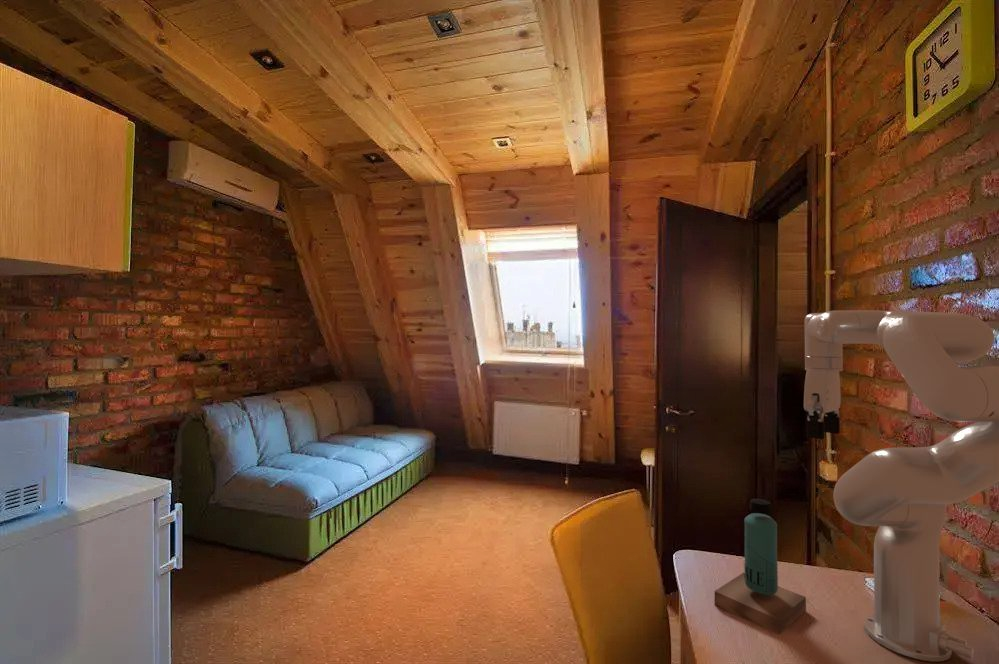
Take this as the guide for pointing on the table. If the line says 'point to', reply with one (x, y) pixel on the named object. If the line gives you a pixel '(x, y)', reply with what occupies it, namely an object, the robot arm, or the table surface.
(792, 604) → the walnut plinth
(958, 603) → the table surface
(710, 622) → the table surface
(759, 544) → the beverage bottle
